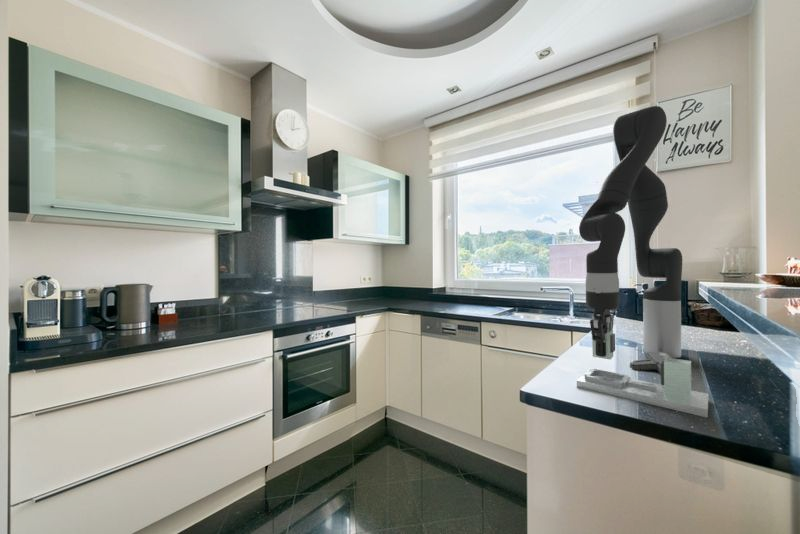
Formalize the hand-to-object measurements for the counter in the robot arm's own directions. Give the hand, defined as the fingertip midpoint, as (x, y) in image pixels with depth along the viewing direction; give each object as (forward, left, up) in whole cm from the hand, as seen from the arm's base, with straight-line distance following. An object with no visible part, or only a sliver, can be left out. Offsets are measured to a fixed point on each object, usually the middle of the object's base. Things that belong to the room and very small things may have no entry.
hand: (602, 353), depth 85 cm
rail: (+12, +9, -5) cm, 16 cm away
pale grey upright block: (0, 0, -1) cm, 1 cm away
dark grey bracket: (-12, +9, -5) cm, 16 cm away
